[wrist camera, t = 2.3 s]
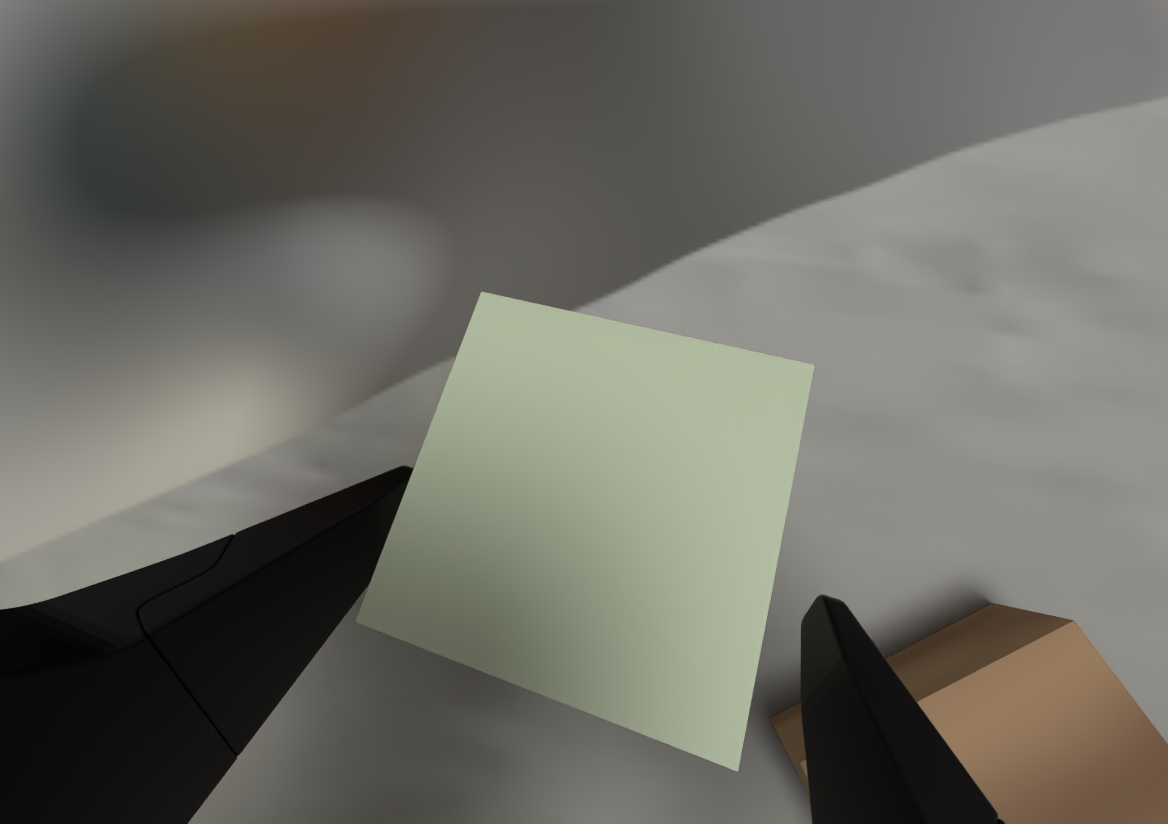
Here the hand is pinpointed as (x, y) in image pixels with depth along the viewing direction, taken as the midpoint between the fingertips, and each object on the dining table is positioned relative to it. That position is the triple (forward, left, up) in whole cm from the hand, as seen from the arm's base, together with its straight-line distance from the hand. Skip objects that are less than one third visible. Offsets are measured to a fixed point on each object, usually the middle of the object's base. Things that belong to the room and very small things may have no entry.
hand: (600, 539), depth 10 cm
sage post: (+1, 0, -8) cm, 8 cm away
